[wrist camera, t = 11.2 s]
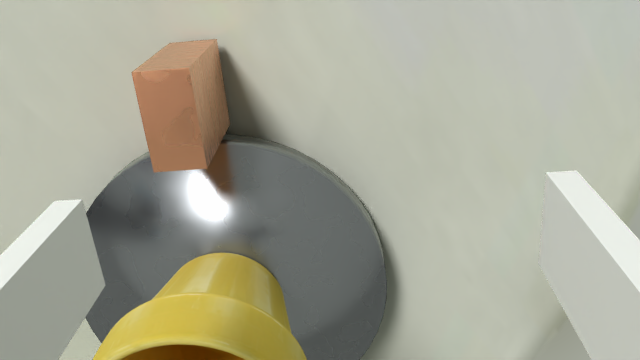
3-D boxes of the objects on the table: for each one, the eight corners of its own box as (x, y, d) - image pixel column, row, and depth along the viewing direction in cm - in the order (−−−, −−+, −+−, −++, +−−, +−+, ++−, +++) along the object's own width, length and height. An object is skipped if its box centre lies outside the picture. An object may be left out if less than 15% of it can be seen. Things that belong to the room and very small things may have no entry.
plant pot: (354, 281, 34) (359, 415, 25) (258, 394, 37) (232, 546, 28) (195, 186, 31) (138, 295, 23) (110, 316, 35) (32, 453, 26)
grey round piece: (121, 397, 40) (86, 474, 34) (20, 55, 30) (-50, 87, 25) (390, 384, 39) (399, 462, 33) (372, 26, 29) (379, 52, 24)
